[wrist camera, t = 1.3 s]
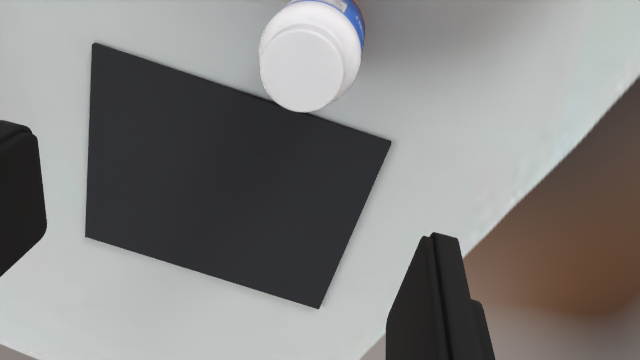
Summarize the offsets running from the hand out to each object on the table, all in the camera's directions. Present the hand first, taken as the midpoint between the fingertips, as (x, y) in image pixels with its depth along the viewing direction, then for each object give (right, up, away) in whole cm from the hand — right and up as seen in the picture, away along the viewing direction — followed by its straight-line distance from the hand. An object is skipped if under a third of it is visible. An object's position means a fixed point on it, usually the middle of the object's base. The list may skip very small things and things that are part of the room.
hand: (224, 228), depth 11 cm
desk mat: (-6, 0, +26) cm, 27 cm away
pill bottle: (+3, +11, +19) cm, 22 cm away
